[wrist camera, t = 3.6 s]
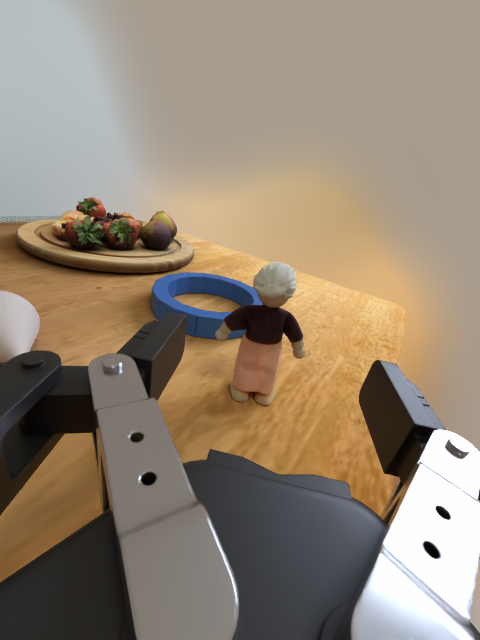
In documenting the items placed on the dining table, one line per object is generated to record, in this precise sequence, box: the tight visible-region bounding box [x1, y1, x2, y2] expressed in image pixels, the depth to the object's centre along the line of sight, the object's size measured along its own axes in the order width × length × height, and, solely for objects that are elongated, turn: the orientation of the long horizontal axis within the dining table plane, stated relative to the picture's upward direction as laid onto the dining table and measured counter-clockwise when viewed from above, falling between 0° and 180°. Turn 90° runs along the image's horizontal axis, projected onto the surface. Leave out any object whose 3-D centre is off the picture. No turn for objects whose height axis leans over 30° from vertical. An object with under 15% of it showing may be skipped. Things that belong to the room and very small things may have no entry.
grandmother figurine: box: [215, 262, 305, 405], centre depth 24 cm, size 8×4×13 cm, turn 98°
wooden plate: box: [16, 198, 194, 273], centre depth 57 cm, size 32×32×8 cm
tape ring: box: [151, 273, 263, 339], centre depth 41 cm, size 16×16×3 cm
